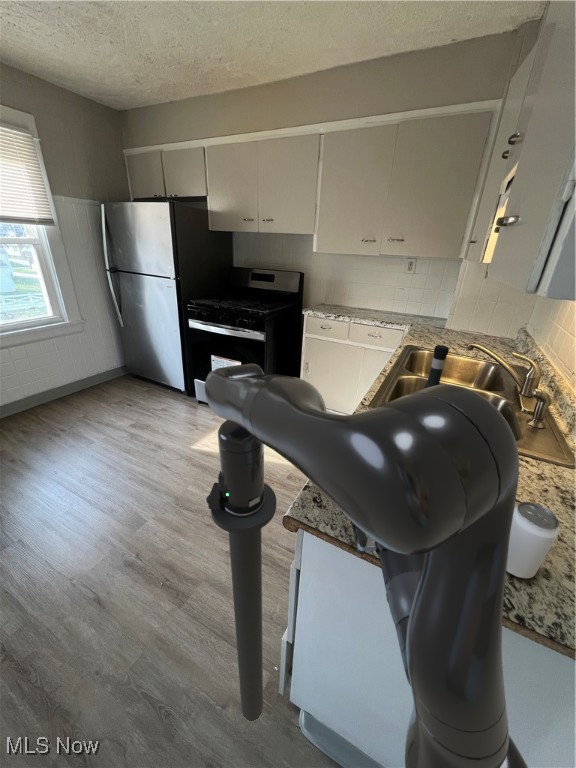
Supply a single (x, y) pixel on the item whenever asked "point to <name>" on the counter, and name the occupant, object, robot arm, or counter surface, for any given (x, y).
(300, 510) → the counter surface
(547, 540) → the can
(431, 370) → the wine bottle
